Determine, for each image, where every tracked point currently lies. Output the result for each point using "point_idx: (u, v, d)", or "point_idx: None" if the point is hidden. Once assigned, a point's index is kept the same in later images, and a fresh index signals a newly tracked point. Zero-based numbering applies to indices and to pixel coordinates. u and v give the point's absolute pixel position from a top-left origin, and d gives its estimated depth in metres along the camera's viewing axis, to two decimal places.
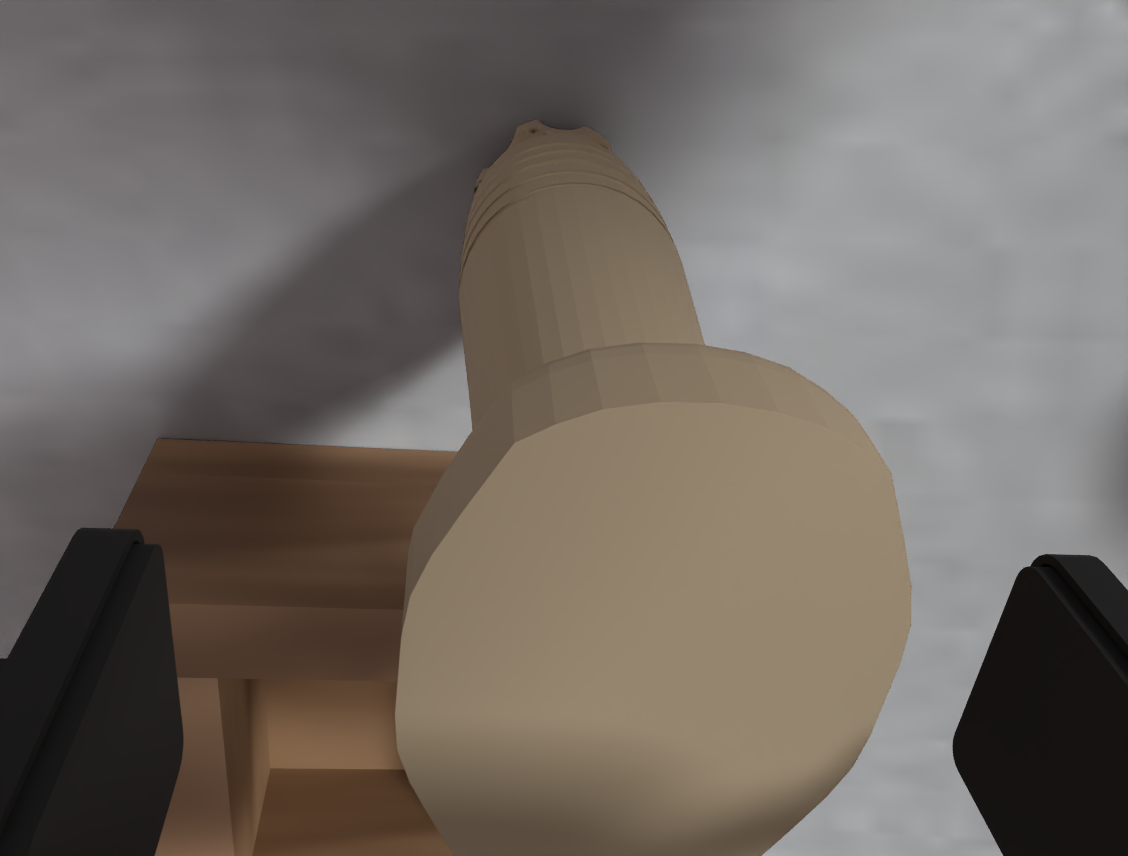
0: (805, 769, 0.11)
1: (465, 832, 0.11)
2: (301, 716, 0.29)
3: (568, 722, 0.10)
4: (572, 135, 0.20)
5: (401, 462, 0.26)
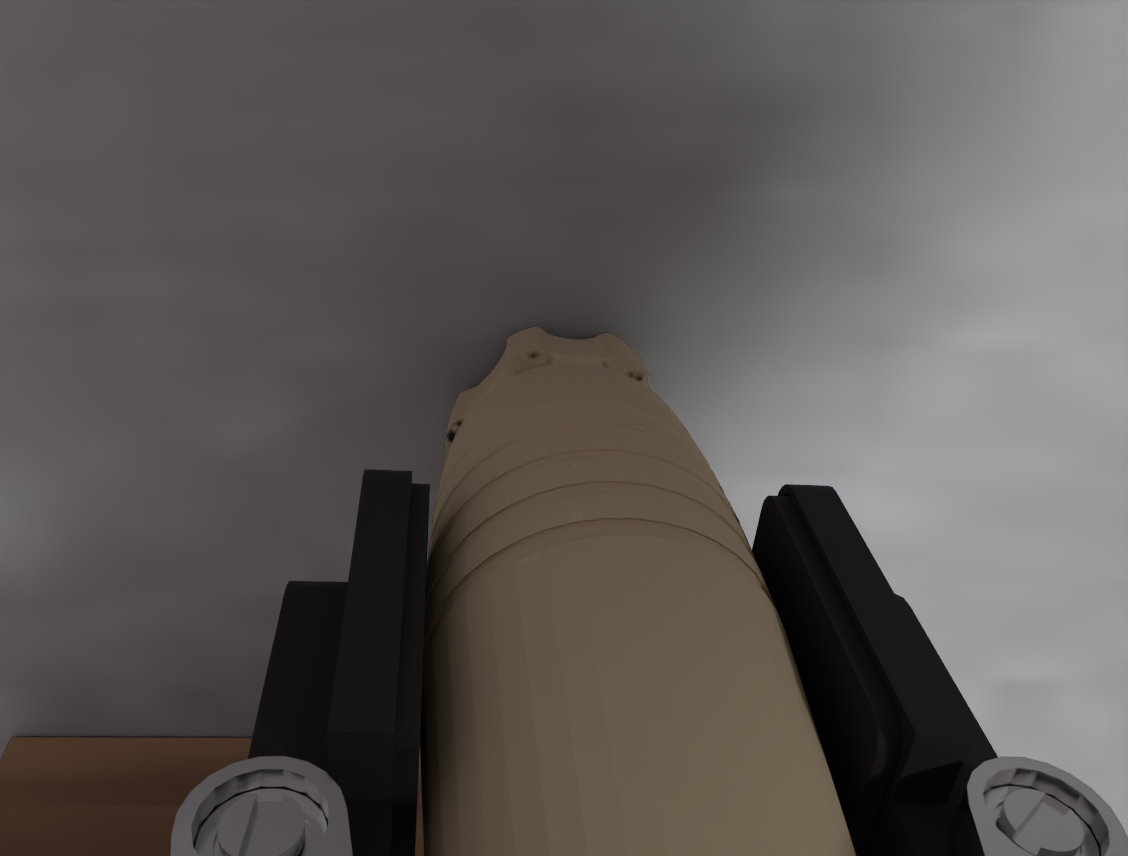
0: None
1: None
2: None
3: None
4: (593, 369, 0.13)
5: None
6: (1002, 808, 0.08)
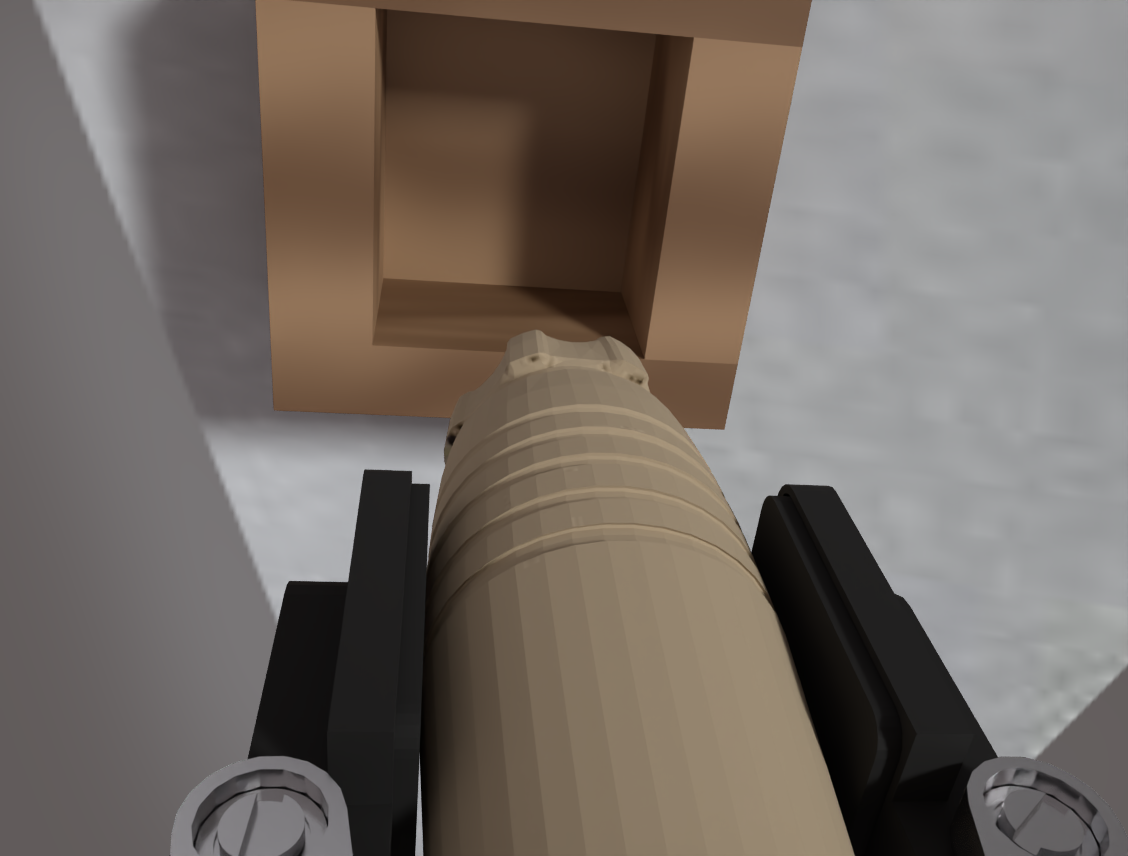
0: None
1: None
2: (417, 210, 0.29)
3: None
4: (593, 372, 0.13)
5: None
6: (1002, 808, 0.08)
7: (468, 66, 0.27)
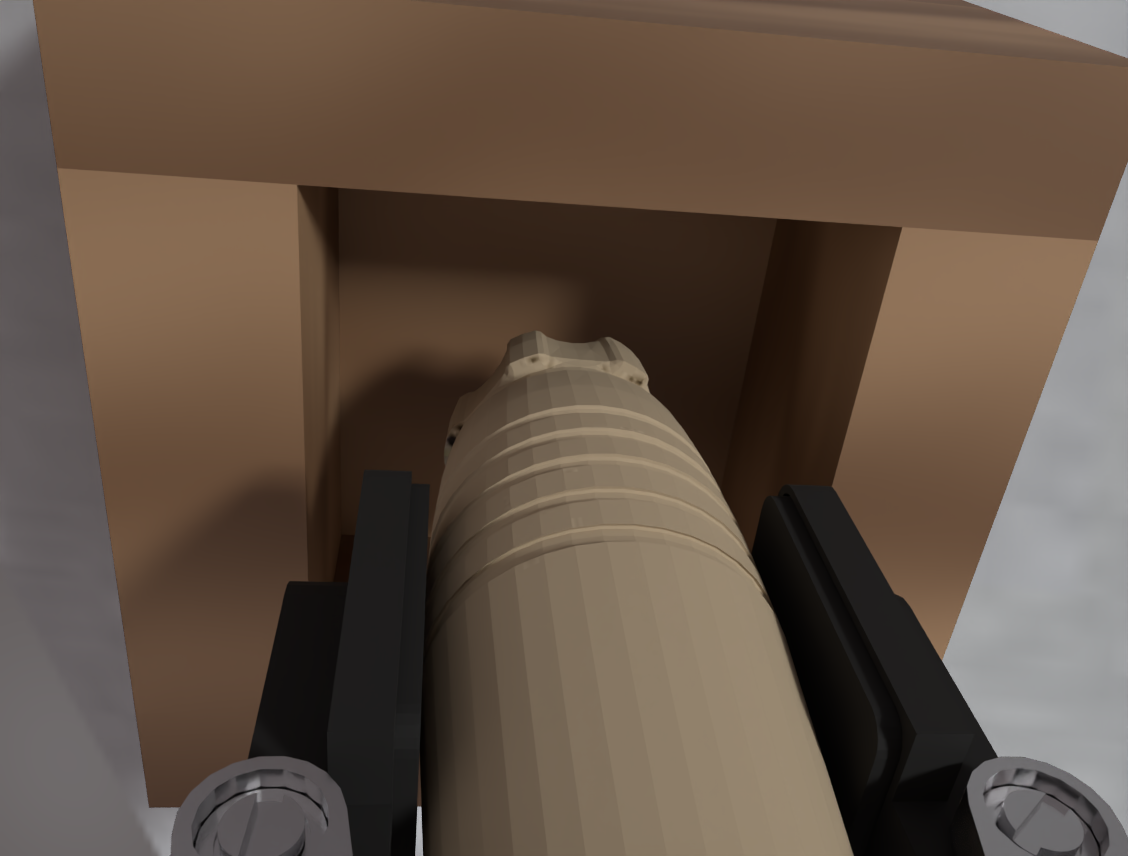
0: None
1: None
2: (394, 440, 0.18)
3: None
4: (593, 373, 0.13)
5: None
6: (1002, 808, 0.08)
7: (475, 227, 0.16)
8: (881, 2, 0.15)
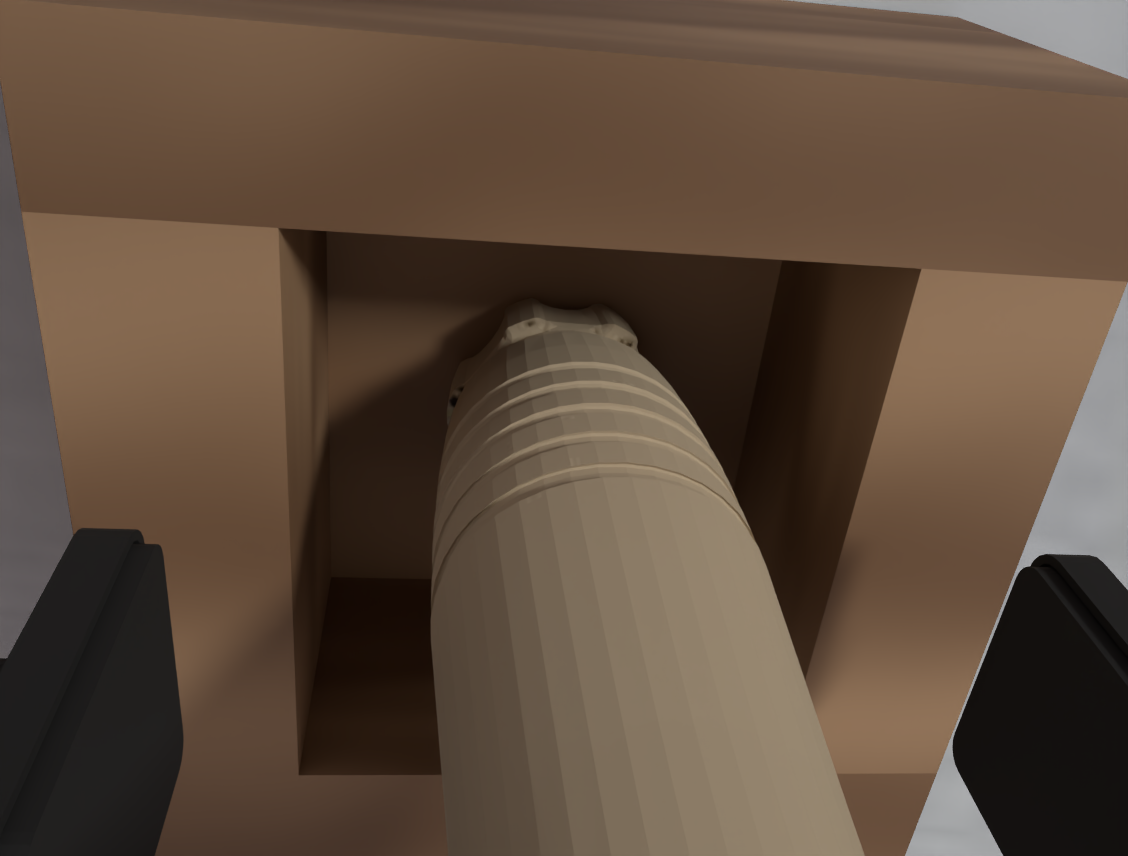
0: None
1: None
2: (385, 480, 0.18)
3: None
4: (586, 334, 0.14)
5: None
6: None
7: (469, 261, 0.16)
8: (894, 28, 0.14)
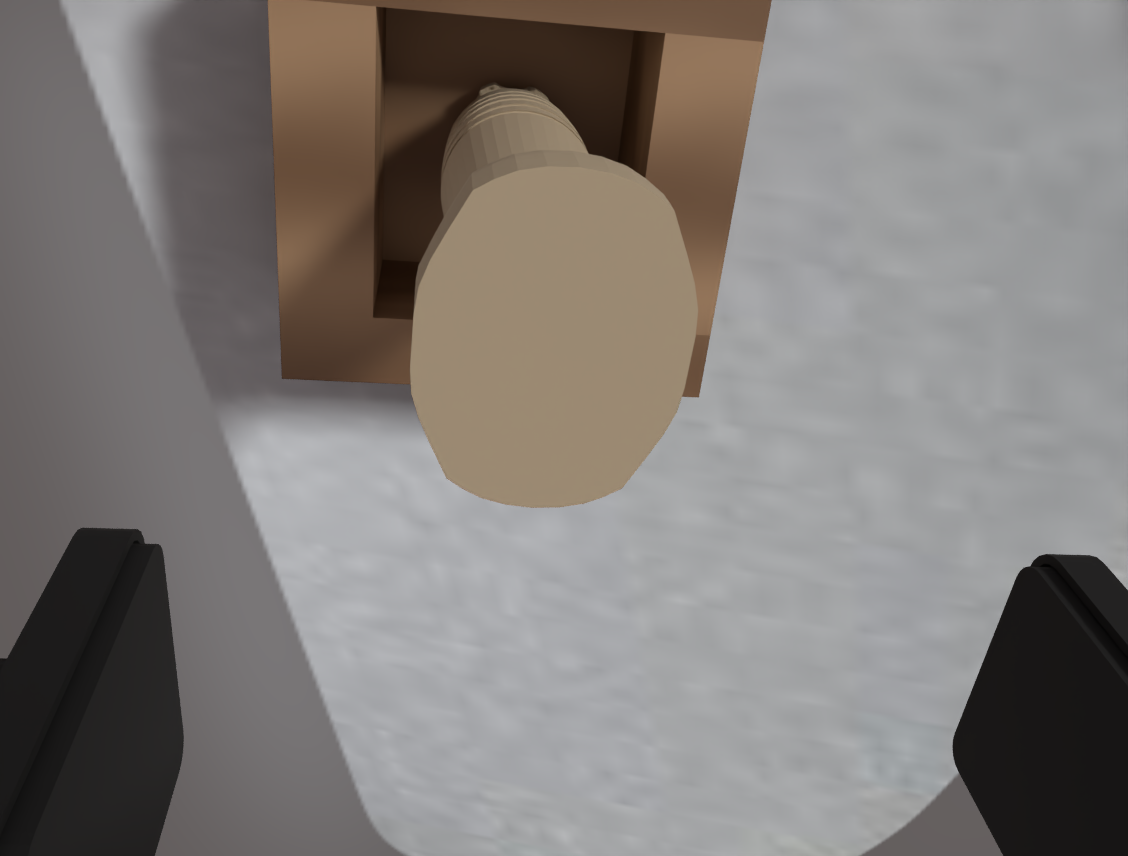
0: (648, 412, 0.19)
1: (451, 456, 0.19)
2: (414, 196, 0.31)
3: (508, 375, 0.18)
4: (519, 89, 0.28)
5: None
6: None
7: (461, 62, 0.30)
8: None
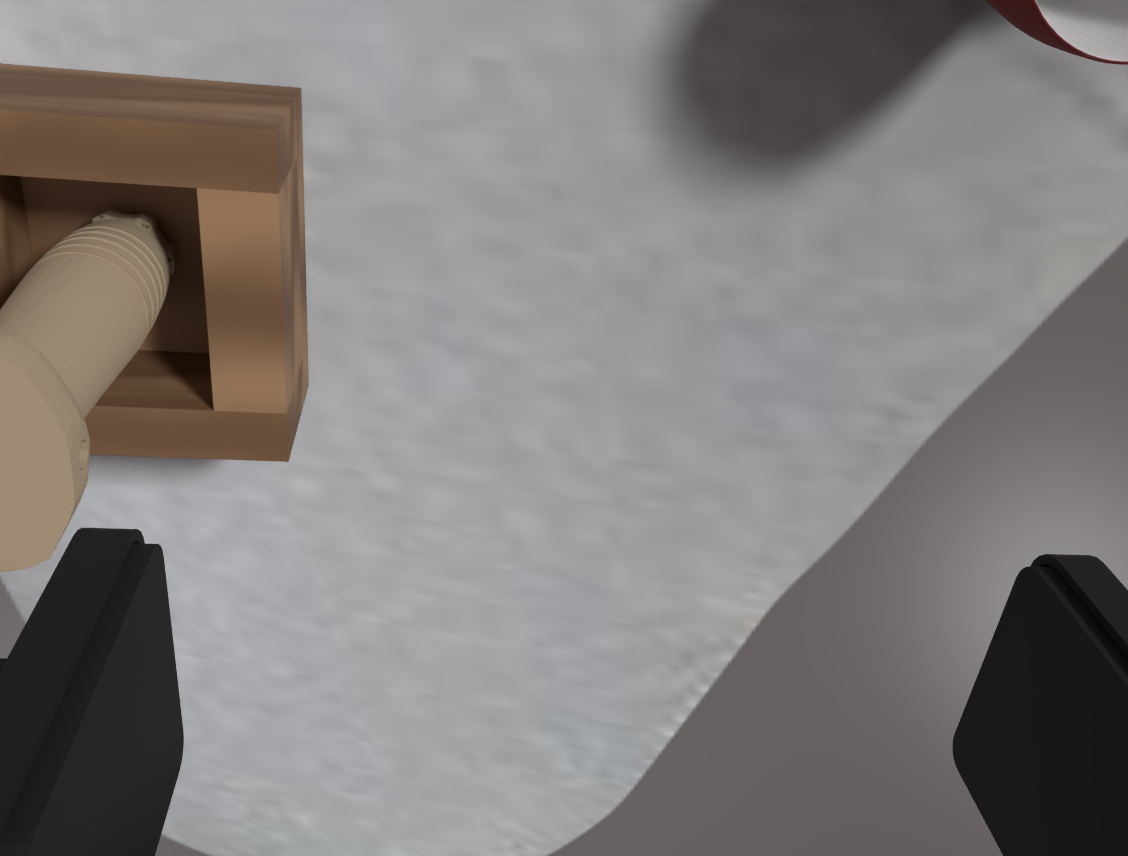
0: (52, 506, 0.26)
1: None
2: None
3: None
4: (117, 220, 0.35)
5: (119, 77, 0.36)
6: None
7: (86, 193, 0.37)
8: (237, 96, 0.35)
